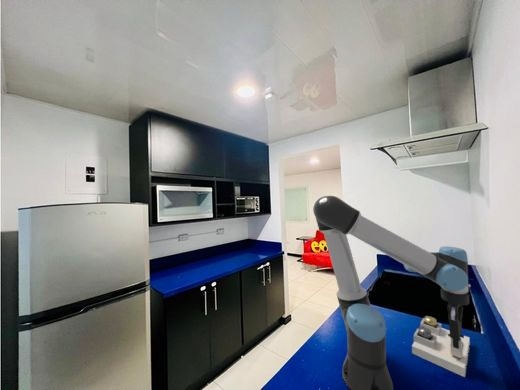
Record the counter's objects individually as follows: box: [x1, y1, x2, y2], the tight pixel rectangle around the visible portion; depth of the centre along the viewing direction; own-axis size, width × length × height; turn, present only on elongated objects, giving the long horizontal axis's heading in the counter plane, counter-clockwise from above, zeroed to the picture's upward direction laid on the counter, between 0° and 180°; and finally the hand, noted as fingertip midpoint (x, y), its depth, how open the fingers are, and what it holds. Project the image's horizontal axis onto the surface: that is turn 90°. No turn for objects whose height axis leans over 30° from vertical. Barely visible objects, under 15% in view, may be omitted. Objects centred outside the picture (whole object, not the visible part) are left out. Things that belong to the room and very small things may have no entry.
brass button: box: [424, 315, 438, 328], centre depth 93 cm, size 4×4×3 cm
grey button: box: [418, 326, 431, 340], centre depth 85 cm, size 4×4×3 cm
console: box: [411, 317, 471, 378], centre depth 85 cm, size 24×15×6 cm, turn 132°
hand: (456, 355), depth 75 cm, fingers closed
